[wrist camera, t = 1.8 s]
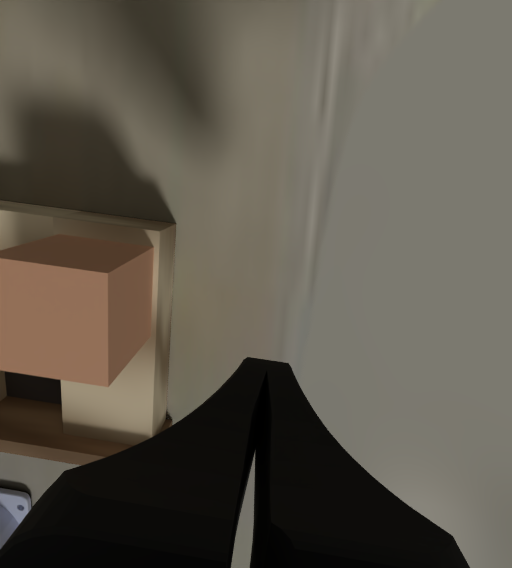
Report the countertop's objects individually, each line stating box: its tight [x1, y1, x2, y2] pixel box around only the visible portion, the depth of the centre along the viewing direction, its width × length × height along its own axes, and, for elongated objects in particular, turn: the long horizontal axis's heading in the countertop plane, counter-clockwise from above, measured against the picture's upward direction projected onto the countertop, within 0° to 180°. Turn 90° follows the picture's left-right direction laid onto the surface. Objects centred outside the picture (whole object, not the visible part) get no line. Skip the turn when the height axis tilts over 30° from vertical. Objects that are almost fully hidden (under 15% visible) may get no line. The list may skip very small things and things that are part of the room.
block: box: [0, 234, 154, 387], centre depth 16 cm, size 4×4×4 cm
